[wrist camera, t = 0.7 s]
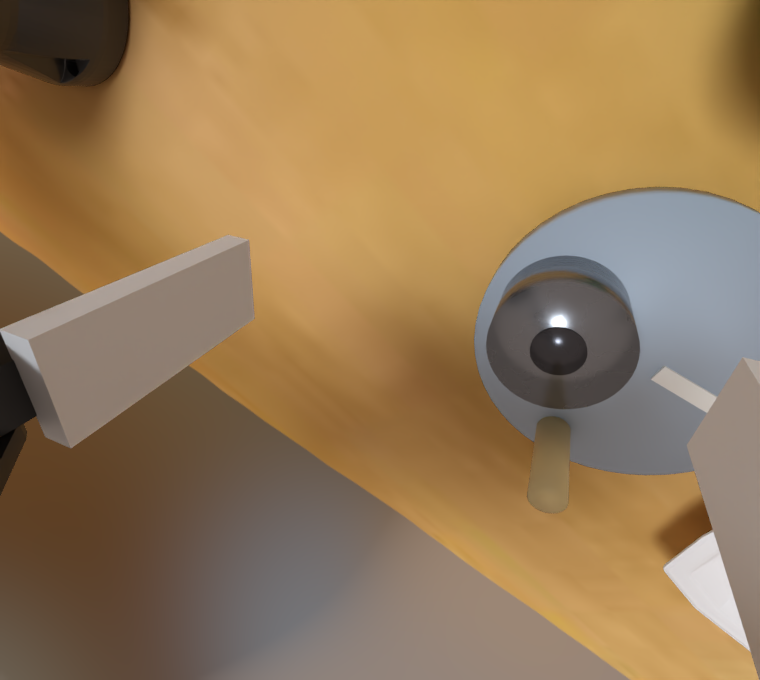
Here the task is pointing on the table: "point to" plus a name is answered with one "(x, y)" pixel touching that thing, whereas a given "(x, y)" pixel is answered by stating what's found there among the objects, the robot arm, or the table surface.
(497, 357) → the cover
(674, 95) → the table surface
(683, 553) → the bowl
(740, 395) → the robot arm
